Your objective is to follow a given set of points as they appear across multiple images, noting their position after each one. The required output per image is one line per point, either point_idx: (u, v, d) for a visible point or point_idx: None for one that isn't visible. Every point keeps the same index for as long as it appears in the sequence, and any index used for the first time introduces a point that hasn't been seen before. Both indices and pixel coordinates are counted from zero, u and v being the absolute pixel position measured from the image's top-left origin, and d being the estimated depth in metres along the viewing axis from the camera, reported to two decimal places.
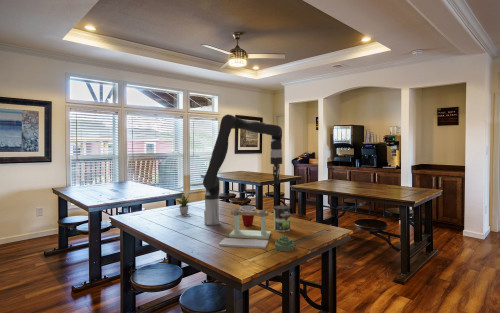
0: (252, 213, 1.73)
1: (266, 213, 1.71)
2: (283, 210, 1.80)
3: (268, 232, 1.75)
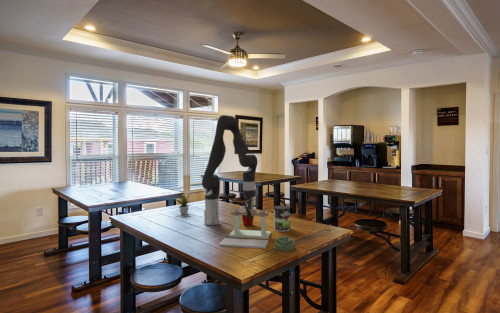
0: (252, 213, 1.73)
1: (266, 213, 1.71)
2: (283, 210, 1.80)
3: (268, 232, 1.75)
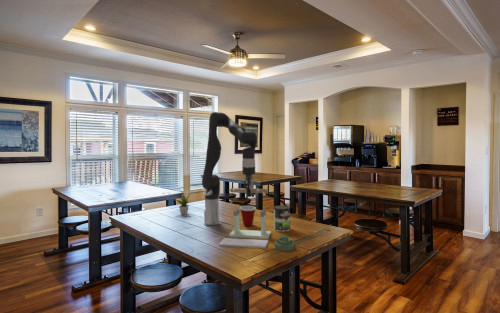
0: (252, 190, 1.72)
1: (266, 190, 1.71)
2: (283, 210, 1.80)
3: (268, 232, 1.75)
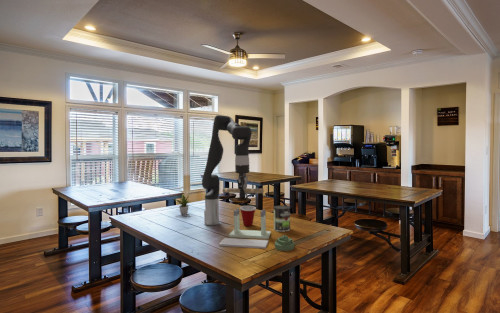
0: (245, 190, 1.58)
1: (261, 190, 1.56)
2: (283, 210, 1.80)
3: (268, 232, 1.75)
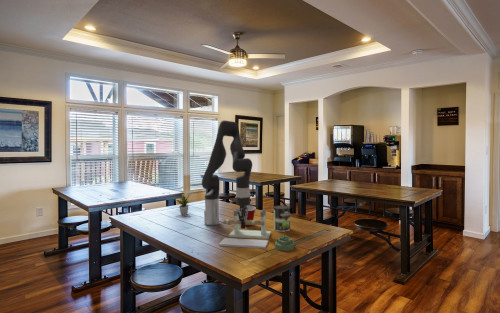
0: (246, 222, 1.58)
1: (262, 222, 1.57)
2: (283, 210, 1.80)
3: (268, 232, 1.75)
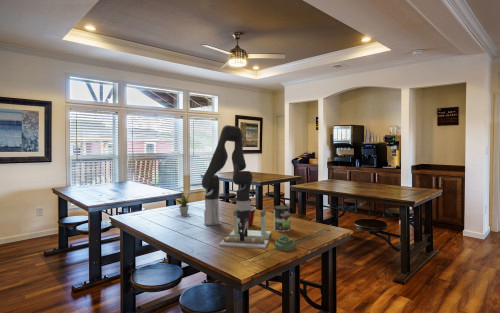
0: (246, 240, 1.59)
1: (262, 241, 1.57)
2: (283, 210, 1.80)
3: (268, 232, 1.75)
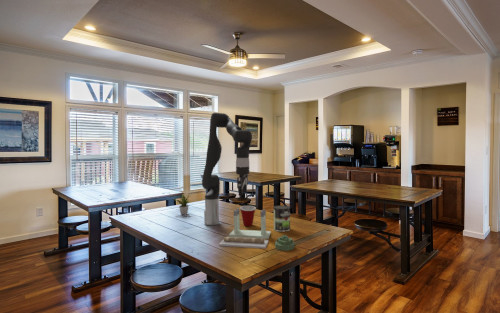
0: (247, 240, 1.59)
1: (262, 240, 1.57)
2: (283, 210, 1.80)
3: (268, 232, 1.75)
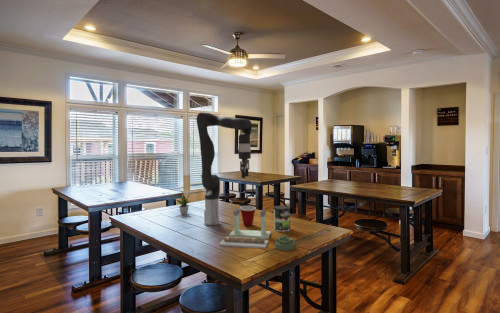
0: (247, 239, 1.59)
1: (262, 240, 1.58)
2: (283, 210, 1.80)
3: (268, 232, 1.75)
